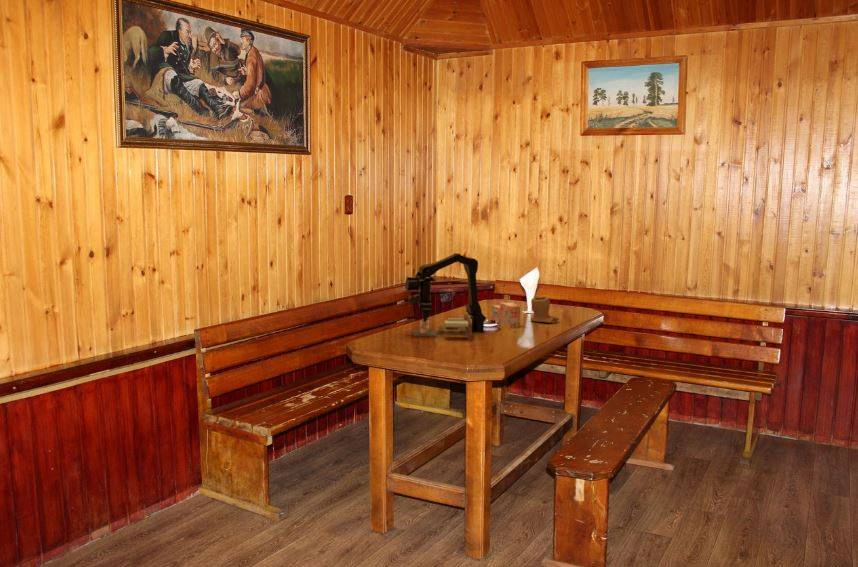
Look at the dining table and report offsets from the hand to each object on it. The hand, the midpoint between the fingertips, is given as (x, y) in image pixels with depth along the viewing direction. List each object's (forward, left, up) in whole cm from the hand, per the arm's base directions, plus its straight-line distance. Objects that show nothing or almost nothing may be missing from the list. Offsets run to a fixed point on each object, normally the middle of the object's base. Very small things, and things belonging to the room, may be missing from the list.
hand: (424, 319), depth 381 cm
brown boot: (-70, -37, -8) cm, 79 cm away
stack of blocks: (-47, -31, -8) cm, 57 cm away
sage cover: (-16, +10, 0) cm, 19 cm away
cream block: (0, 0, -7) cm, 7 cm away
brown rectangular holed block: (-15, +1, -8) cm, 17 cm away
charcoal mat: (0, 0, -8) cm, 8 cm away
